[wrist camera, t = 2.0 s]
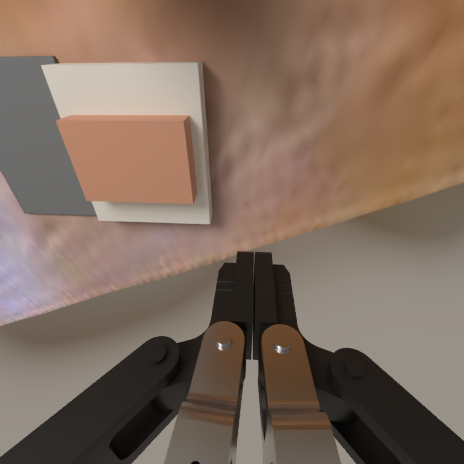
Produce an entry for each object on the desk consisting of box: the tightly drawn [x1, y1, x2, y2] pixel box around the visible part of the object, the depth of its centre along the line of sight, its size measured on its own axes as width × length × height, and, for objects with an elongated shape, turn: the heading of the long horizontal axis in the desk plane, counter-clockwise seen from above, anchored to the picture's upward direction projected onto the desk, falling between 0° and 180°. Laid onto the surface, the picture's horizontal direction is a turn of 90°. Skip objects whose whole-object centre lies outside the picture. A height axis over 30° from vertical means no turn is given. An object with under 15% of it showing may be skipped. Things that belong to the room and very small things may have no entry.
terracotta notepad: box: [56, 115, 197, 204], centre depth 23 cm, size 10×7×2 cm
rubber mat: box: [0, 56, 97, 216], centre depth 26 cm, size 10×15×1 cm, turn 1°
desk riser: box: [41, 62, 213, 224], centre depth 24 cm, size 12×14×2 cm
